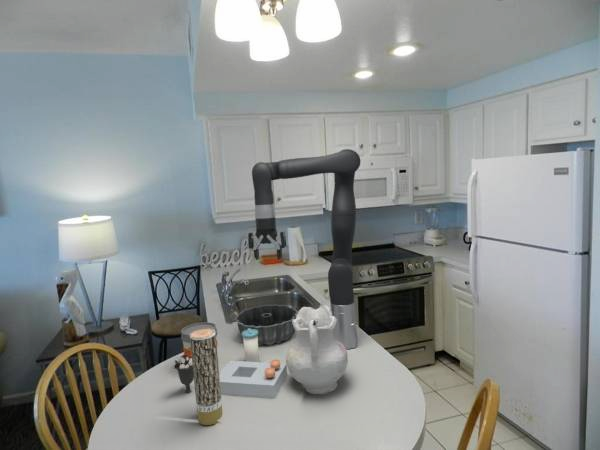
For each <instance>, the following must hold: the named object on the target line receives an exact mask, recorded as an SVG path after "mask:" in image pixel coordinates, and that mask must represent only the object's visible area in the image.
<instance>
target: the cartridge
mask: <svg viewBox="0 0 600 450" xmlns="http://www.w3.org/2000/svg"><path fill="white" fill-rule="evenodd" d="M257 335H258V330H256V329H250V328H248V330H245V331H243V332H242V337H243V338H242V337H241V338H242V339H243V340H242V341H243V350H244V361H245V362H260V355H259V354H260V352H259V351H260V350H259V344H258V337H257Z"/></svg>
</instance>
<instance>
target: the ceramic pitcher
mask: <svg viewBox="0 0 600 450" xmlns="http://www.w3.org/2000/svg"><path fill="white" fill-rule="evenodd" d="M336 322H337V319H336V318H335V317H334V316H333V315H332V311H331V307H330V306H328V305H327V304H319V307H318V308H316V309H314V308H312V307H310V306H302V307H301V308H300V309H299V311H298V314H297V316H296V319H293V320H292V324H293V326H294V328H295V332H296V335H297V336H296V337H297V338H296V341H295V342H293V344H292V345H290V346H289V348H288V350H287V352H286V355H285V362H286V363H285V364H287V371H288V372H289V373H290V375H291V377H292V378H293V379H294V380H295V381H296V382H298V383H300V384H302V386H303V387H304V388H305V389H304V391H305V392H306V393H308V394H311V395H327V394H329V393H331V392H333V391H334V390H336V389H337V388H338V382H337V381H339V380H340V379H341V377H343V375H344V373H345V372H346V370H347V367H348V363H349V359H348V358H349V357H348V349H346V348H345V347H344V345H343V344H342V343H341V342H339V341H337V340H336V339H335V338H334V337H333V331H334V327H335V325H336Z"/></svg>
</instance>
